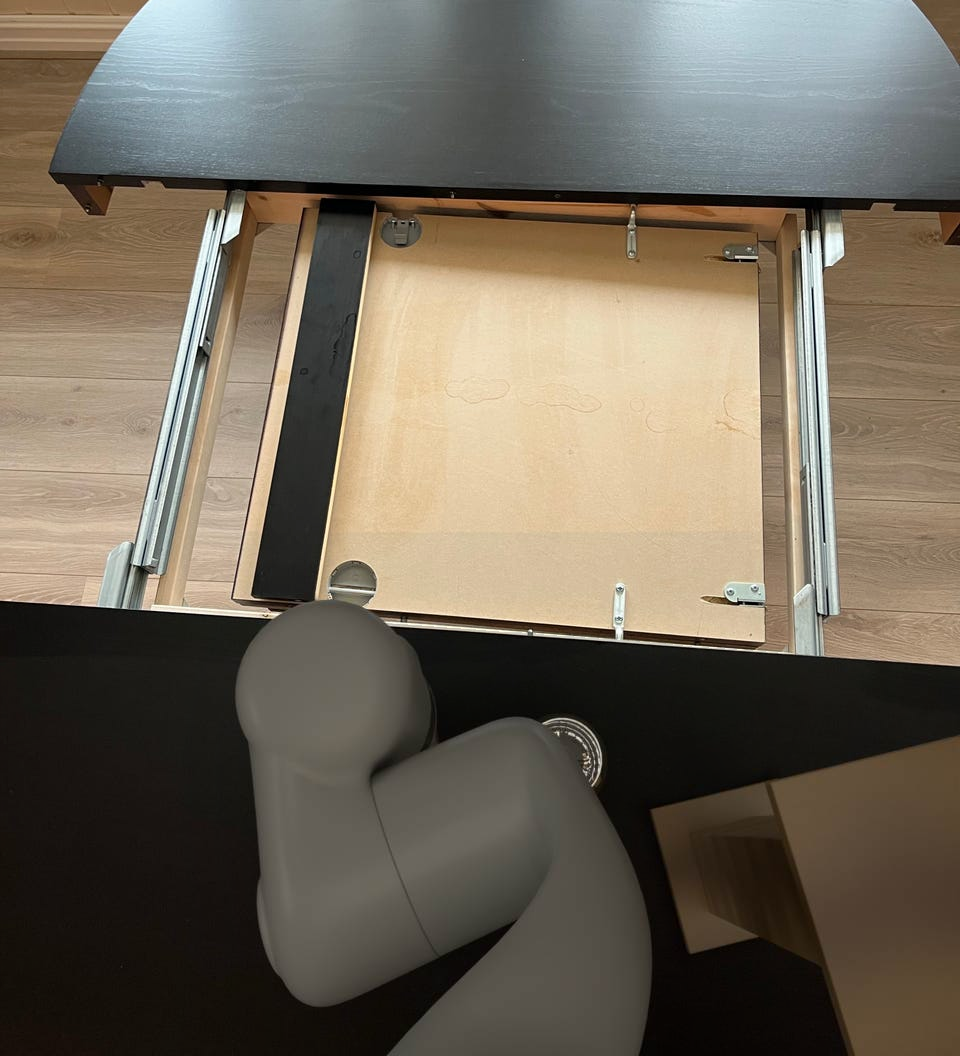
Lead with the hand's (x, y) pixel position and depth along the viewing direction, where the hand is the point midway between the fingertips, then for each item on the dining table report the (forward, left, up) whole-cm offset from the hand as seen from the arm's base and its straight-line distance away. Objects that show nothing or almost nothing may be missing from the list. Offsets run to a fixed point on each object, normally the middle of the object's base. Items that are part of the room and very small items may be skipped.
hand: (401, 746), depth 71 cm
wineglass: (-4, -10, -4) cm, 11 cm away
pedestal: (-12, -20, -4) cm, 24 cm away
